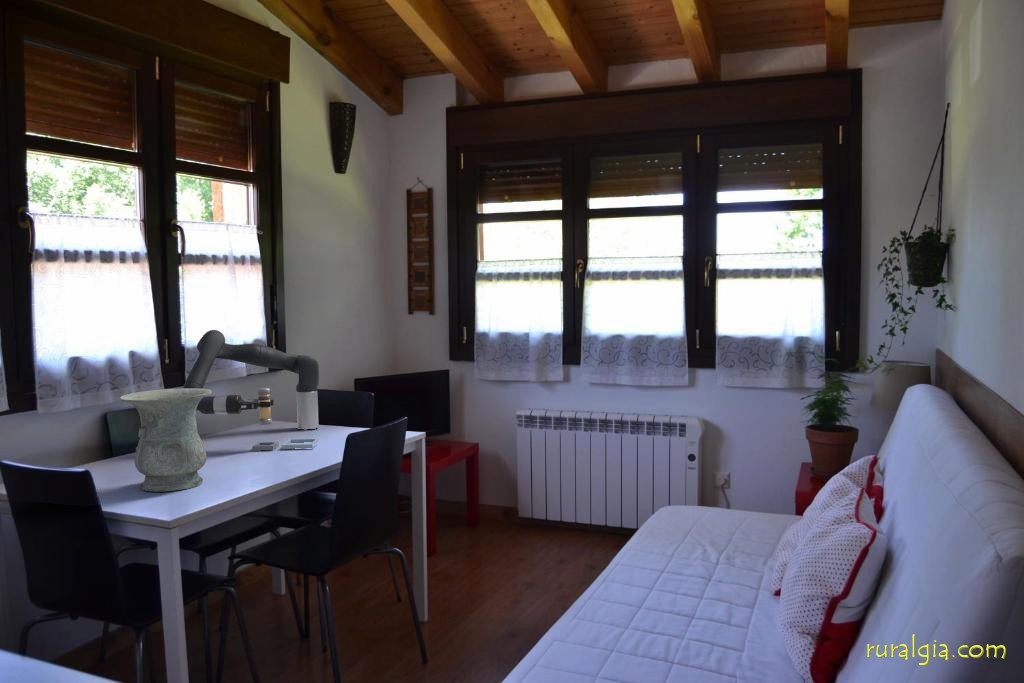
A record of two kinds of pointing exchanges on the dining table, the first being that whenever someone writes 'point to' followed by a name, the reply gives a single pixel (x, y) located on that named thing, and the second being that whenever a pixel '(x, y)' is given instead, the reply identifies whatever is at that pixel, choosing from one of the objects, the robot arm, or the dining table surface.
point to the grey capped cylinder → (265, 411)
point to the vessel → (169, 438)
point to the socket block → (265, 446)
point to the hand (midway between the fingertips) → (271, 403)
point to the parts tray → (292, 446)
